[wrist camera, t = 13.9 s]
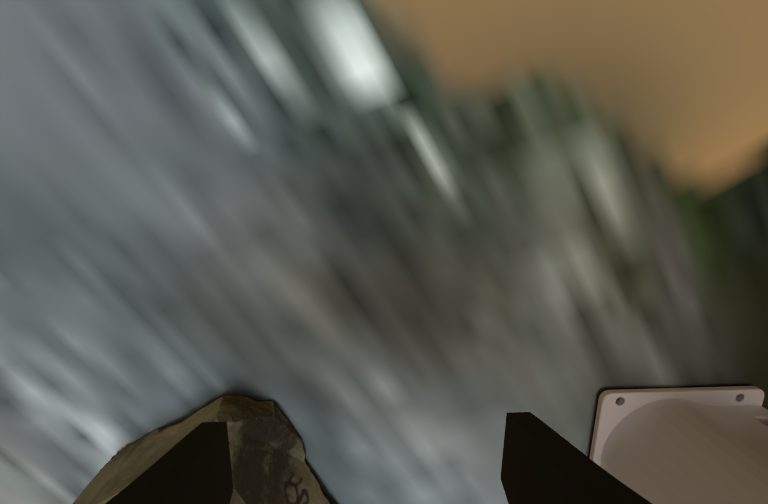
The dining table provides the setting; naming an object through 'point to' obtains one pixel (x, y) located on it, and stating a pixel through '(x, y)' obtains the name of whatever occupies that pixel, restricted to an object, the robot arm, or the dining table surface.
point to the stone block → (247, 453)
